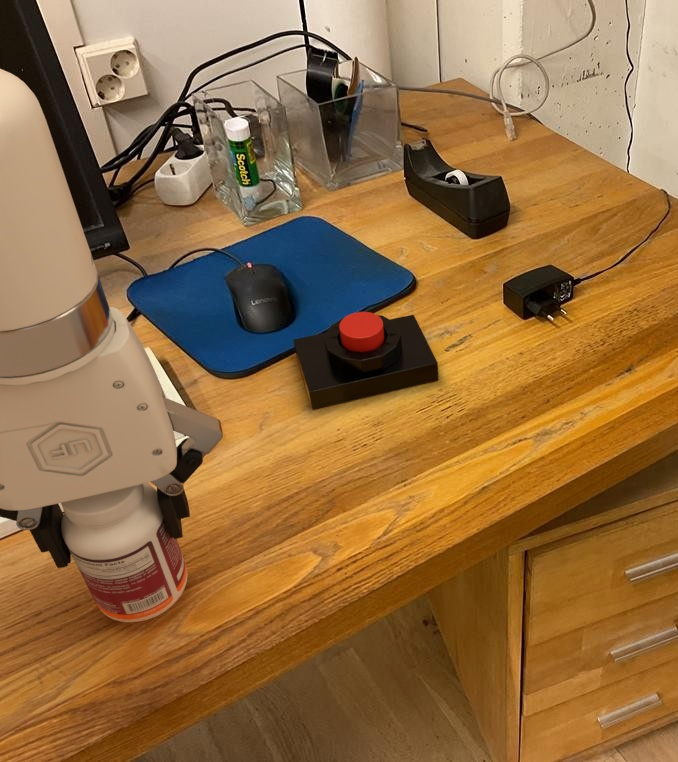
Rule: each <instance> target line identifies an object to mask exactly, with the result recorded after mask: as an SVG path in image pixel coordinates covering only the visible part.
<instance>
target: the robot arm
mask: <svg viewBox="0 0 678 762" xmlns="http://www.w3.org/2000/svg"><path fill="white" fill-rule="evenodd" d="M175 433H179V434H181V435H183V436H186V438H184V439H183V440H182V441H181V442H180V443H179V444H178V445H177V441H176V437H175ZM223 438H224V433H223V427H222V422H221V420H220V419H218V418H217V417H214V416H211V415H209V414H207V413H204V412H202V411H199V410H197V409H194V408H192V407H189V406H187V405H184V404H182V403H179V402H177V401H174V400H172V399H169V398H167V397H166V394H165V392H164V389H163V387H162V384H161V382H160V380H159V377H158V375H157V372H156V370H155V368H154V366H153V364H152V362H151V360H150V357H149V355H148V353H147V350H146V349H145V346H144V345H143V343H142V341H141V340H140V338H139V336H138V334H137V333H136V331H135V330H134V328H133V326H132V324H131V323H130V322H129V320H128V319H127V317H126V316H125V314H124V313H123V311H121V310H120V309H119V308H117V307H115V306H110V305H109V303H108V300H107V296H106V293H105V291H104V288H103V285H102V282H101V279H100V276H99V273H98V270H97V267H96V264H95V261H94V257H93V255H92V252H91V250H90V246H89V244H88V241H87V238H86V235H85V233H84V229H83V226H82V223H81V220H80V217H79V214H78V211H77V208H76V205H75V203H74V199H73V197H72V193H71V190H70V187H69V184H68V182H67V178H66V174H65V172H64V169H63V167H62V163H61V161H60V157H59V155H58V152H57V149H56V146H55V143H54V140H53V137H52V134H51V131H50V128H49V125H48V122H47V119H46V116H45V114H44V111H43V108H42V107H41V104H40V102H39V100H38V97H37V96H36V95H35V93H34V92H33V90H31V89H30V87H29V86H28V85H27V84H26V83H25V82H24V81H23V80H21V78H19V77H18V76H16V75H15V74H13V73H11V72H9V71H6V70H5V69H2V68H0V518H3V519H7V520H11V521H14V522H16V526H17V528H18V529H19V530H22V531H29V533H30V534H31V536H32V538H33V541H34V542H35V543H36V545H37V547H38V549H39V551H40V553H42V554H43V553H47V552H49V554H50V556H51V559H52V560H53V562H54V564H55V567H56V568H57V569H61V568H65V567H66V568H67V567H68V565H69V564H71V562H72V561H71V560H72V555H71V553H70V551H69V549H68V547H67V545H66V543H65V541H64V539H63V536H62V532H61V522H62V518H63V515H64V512H63V510H62V508H61V506H60V504H61V503H62V502H67V501H71V500H76V499H80V498H85V497H89V496H93V495H98V494H102V493H107V492H111V491H115V490H119V489H123V488H128V487H132V486H136V485H140V484H144V483H148V484H149V483H151V484H152V485H154V486H155V487H156V490H157V496H158V504H159V507H160V510H161V512H162V515H163V518H164V521H165V523H166V526H167V529H168V532H169V535H170V537H171V538H174V539H177V540H178V539H181V538H182V539H183V537H184V536H183V535H184V534H183V526H182V519H186V518H190V517H191V513H190V506H189V501H188V497H187V494H186V491H185V485H184V484H185V483H186V482H187V481H188V480H189V478H191V477H192V475H193V474H194V473H195V472H196V471H197V470H198V469H199V468H200V467H201V465H203V462H204V458H205V457H206V455H209V454H210V453H211V452H212V450H214V448H215V447H216V446H217V445H218V444H219V443H220V442H221V440H222V439H223Z"/></svg>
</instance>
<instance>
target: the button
mask: <svg viewBox="0 0 678 762" xmlns="http://www.w3.org/2000/svg"><path fill="white" fill-rule="evenodd" d="M378 315H379V314H376V313H373V312H370V311H357V312H352V313H349V314H348V315H346V316H344V317H345V318H344V317H343V318H344V319H343V320H342V321H341V322H340V325H339V330H340V336H341V342H342V345H343V346H344V347H345V348H346V349H348V350H350V351H356V352H366V351H370V350H375V349H376V348H378V347H379V346H381V345H382V343H383V341H384V328H383V321H382V319H381V318H380V317H379V316H378Z"/></svg>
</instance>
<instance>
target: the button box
mask: <svg viewBox="0 0 678 762" xmlns="http://www.w3.org/2000/svg"><path fill="white" fill-rule="evenodd" d="M377 315H378V316H379V317H380V318H381V319H382V321H383V328H384V341H383V343H382V345H381V346H379V347H378V348H376V349H375V350H370V351H366V352H356V351H350V350H348V349H346V348H345V347H344V346H343V345H342V342H341V336H340V330H339V325H340V322H341V321H342V320H343V319H344V318H345V317H346V316H344V317H343V318H341V319H339V320H338V321H335V323H333V324H331V325H330V326H329V328H328V329H327V331H326V332H322V333H318V334H313V335H308V336H304V337H298V338H295V339H292V342H293V346H294V351H295V352H294V353H295V358H296V360H297V363H298V367H299V371H300V374H301V377H302V380H303V383H304V387H305V390H306V393H307V397H308V400H309V403H310V406H311V410H312V411H313V410H318V409H322V408H327V407H331V406H334V405H339V404H344V403H348V402H353V401H356V400H361V399H365V398H369V397H373V396H377V395H382V394H387V393H391V392H395V391H399V390H403V389H408V388H412V387H415V386H420V385H425V384H428V383H429V384H430V383H433V382H437V381H439V363H438V361H437V359H436V357H435V355H434V353H433V351H432V348H431V347H430V344H429V343H428V341H427V339H426V337H425V334H424V333H423V330H422V329H421V326H420V324H419V322H418V320H417V318H416V317H415V316H416V315H415V314H409V315H404V316H399V317H395V318H390V319H389V318H388V317H386V316H384V315H382V314H380V315H379V314H377Z"/></svg>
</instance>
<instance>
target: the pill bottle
mask: <svg viewBox="0 0 678 762" xmlns="http://www.w3.org/2000/svg"><path fill="white" fill-rule="evenodd" d="M60 505H61V507H62V509H63V510H62V511H64V512H63V514H64V515H63V518H62V522H61V532H62V536H63V539H64V541H65V543H66V545H67V547H68V549H69V551H70V553H71V558H72V559H73V561H74V563H75V565H76V567H77V569H78V570H79V573H80V575H81V577H82V579H83V580H84V584H85V585H86V587H87V588H88V590H89V593H90V594H91V596H92V598H93V600H94V602H95V604H96V606H97V607H98V609H99V610H100V612H102V613H103V614H104V615H105V616H106V617H108V618H109V619H111V620H114V621H118V622H122V623H137V622H142V621H143V622H144V621H147V620H150V619H153V618H155V617H158V616H159V615H162V614H163V613H165V612H166V611H167V610H169V609H170V608H171V607H172V606H173V605H174V604H175V603H176V602H177V601H178V600H179V599H180V597H181V596H182V594H183V592H184V591H185V588H186V586H187V582H188V575H189V574H188V567H187V563H186V560H185V558H184V555H183V552H182V549H181V547H180V545H179V542H178V539H174V538H171V537H170V535H169V532H168V529H167V526H166V523H165V521H164V518H163V515H162V512H161V510H160V507H159V504H158V496H157V488H155V487H153V486H152V485H151V484H149V482H148V483H144V484H140V485H136V486H132V487H128V488H123V489H119V490H115V491H111V492H107V493H102V494H98V495H93V496H89V497H85V498H80V499H76V500H71V501H67V502H62V503H60Z"/></svg>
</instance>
